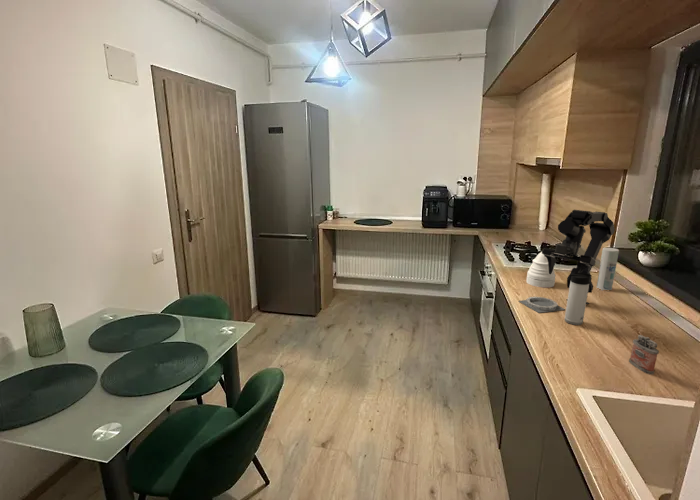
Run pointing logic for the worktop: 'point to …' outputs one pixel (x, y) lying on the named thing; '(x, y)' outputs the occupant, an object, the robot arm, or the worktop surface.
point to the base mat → (541, 303)
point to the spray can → (607, 268)
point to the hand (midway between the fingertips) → (561, 276)
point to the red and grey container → (644, 354)
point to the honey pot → (540, 273)
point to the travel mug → (577, 298)
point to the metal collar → (547, 308)
